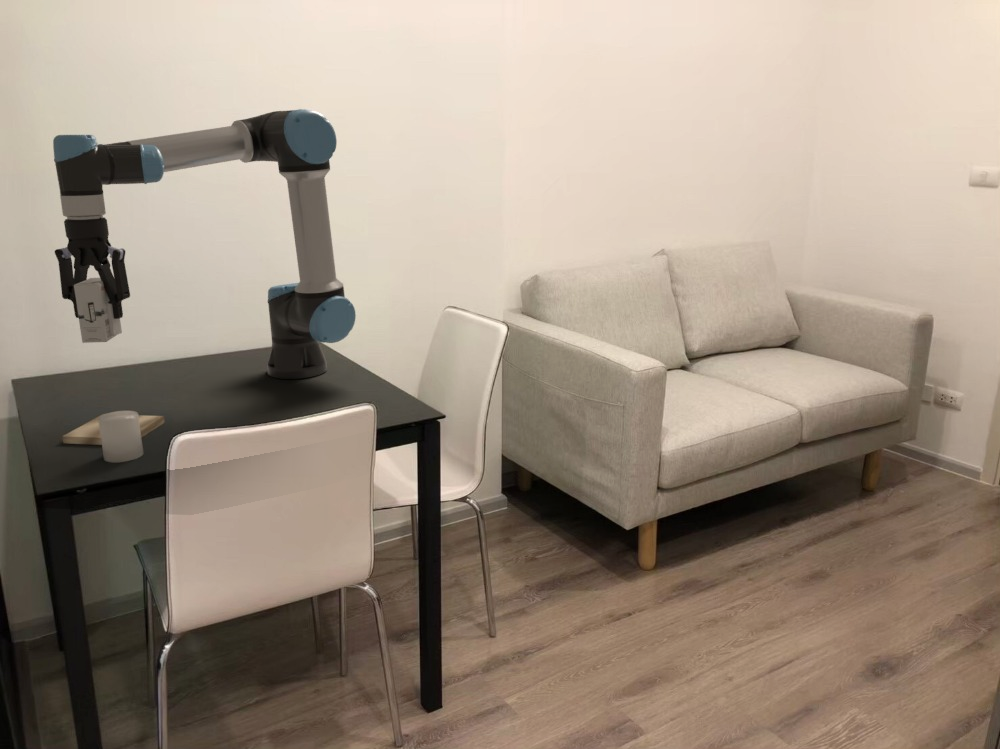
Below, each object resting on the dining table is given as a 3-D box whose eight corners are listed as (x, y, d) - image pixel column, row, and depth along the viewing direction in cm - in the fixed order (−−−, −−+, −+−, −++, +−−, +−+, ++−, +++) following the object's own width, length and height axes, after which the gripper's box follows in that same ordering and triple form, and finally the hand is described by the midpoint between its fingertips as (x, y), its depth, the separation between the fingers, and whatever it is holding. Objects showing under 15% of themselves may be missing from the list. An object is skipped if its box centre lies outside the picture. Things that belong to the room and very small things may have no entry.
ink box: (97, 333, 172) (89, 276, 169) (122, 332, 172) (114, 276, 169) (80, 343, 164) (71, 283, 161) (107, 342, 164) (98, 283, 161)
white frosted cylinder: (150, 449, 164) (145, 411, 162) (130, 463, 157) (125, 423, 155) (117, 448, 165) (111, 410, 162) (96, 461, 158) (90, 421, 156)
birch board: (164, 422, 179) (163, 416, 179) (128, 445, 166) (127, 438, 165) (104, 420, 181) (103, 414, 181) (63, 443, 168) (62, 436, 167)
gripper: (140, 215, 164) (154, 330, 170) (53, 215, 166) (70, 328, 173) (119, 219, 157) (134, 339, 163) (27, 218, 159) (46, 337, 165)
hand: (101, 333), depth 168 cm, fingers closed on ink box, 6 cm apart
